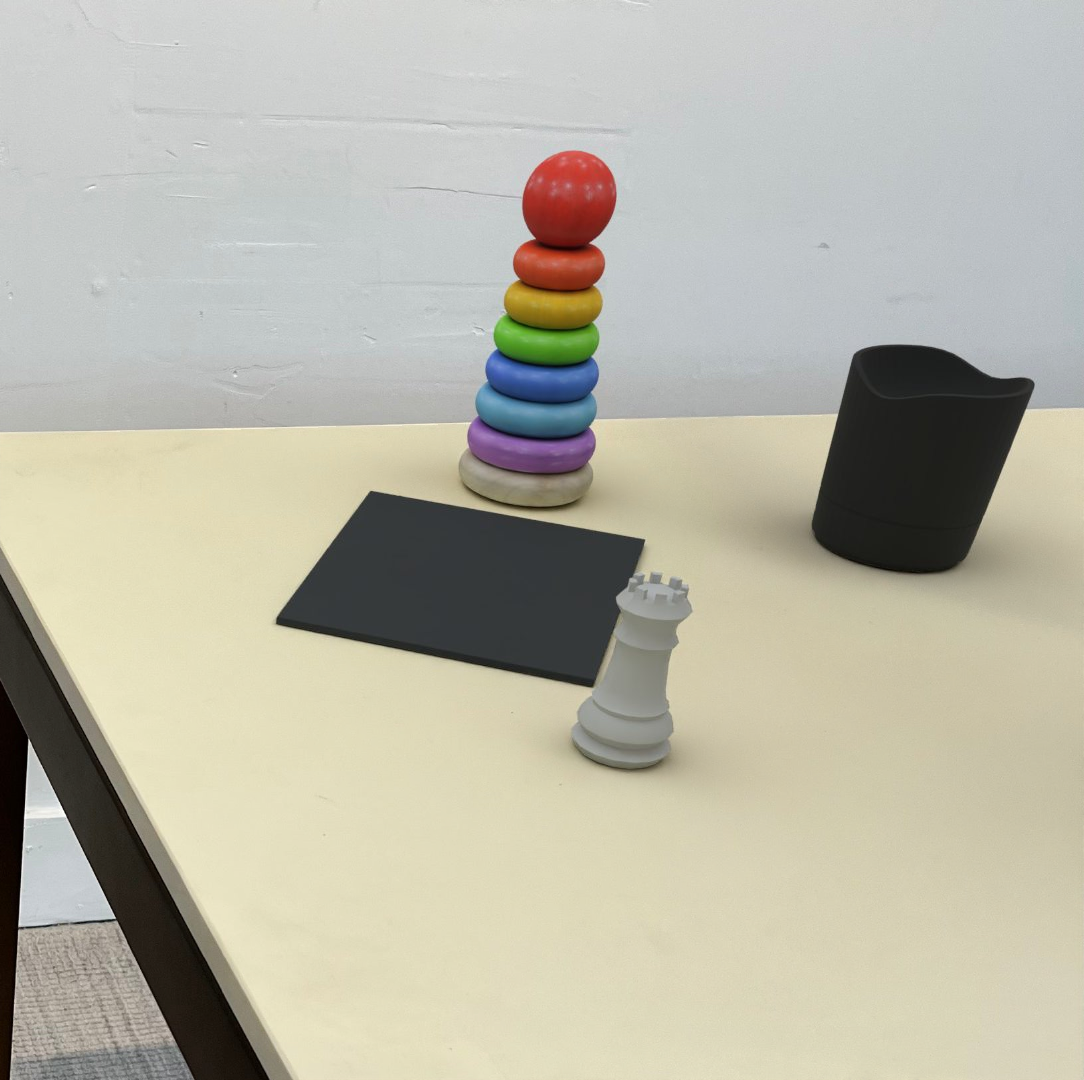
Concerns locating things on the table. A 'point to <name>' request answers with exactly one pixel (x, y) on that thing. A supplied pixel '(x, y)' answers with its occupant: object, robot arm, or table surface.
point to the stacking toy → (546, 345)
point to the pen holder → (915, 457)
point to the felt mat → (470, 586)
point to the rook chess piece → (635, 678)
